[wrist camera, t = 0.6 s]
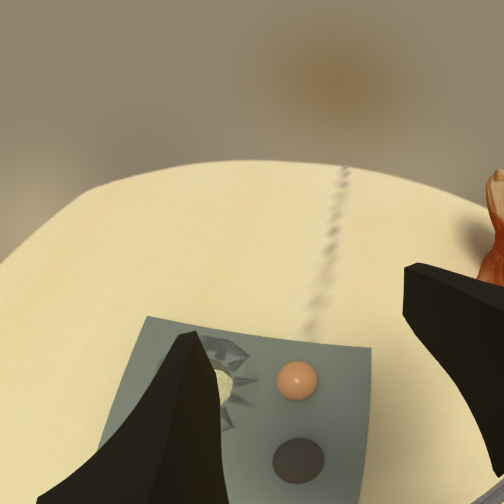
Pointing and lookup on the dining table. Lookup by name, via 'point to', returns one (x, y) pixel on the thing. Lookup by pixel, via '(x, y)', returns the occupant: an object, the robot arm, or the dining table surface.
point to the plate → (268, 409)
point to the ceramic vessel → (500, 210)
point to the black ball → (298, 461)
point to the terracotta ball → (296, 381)
